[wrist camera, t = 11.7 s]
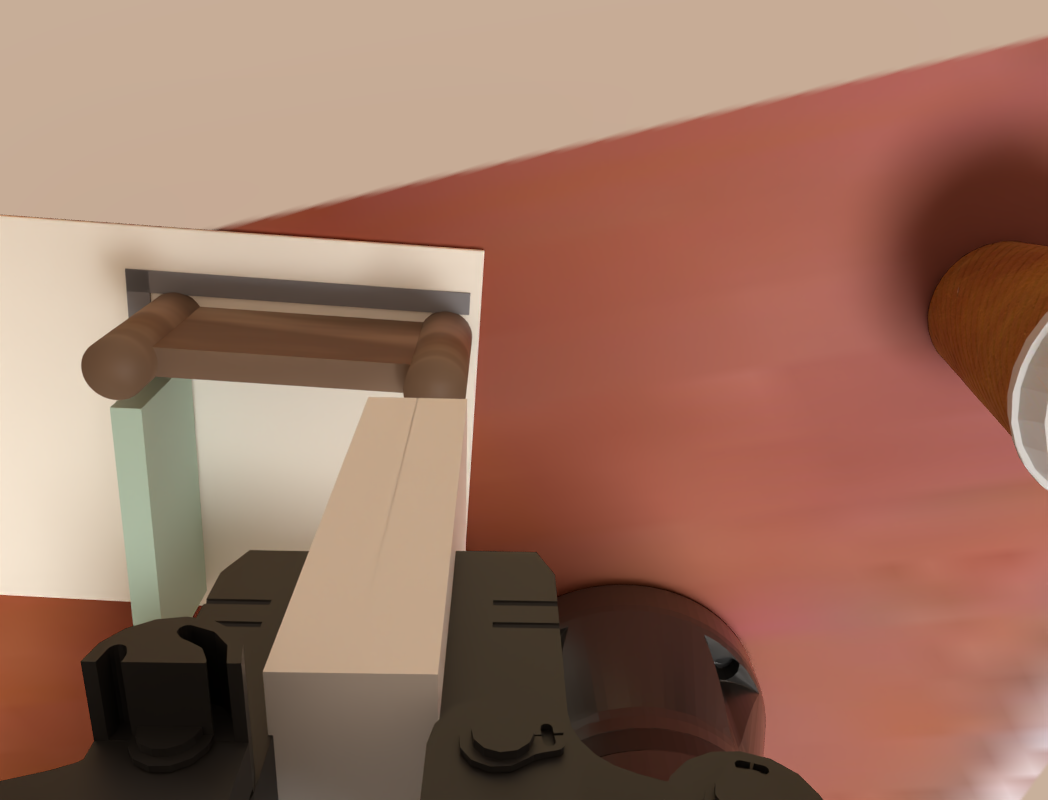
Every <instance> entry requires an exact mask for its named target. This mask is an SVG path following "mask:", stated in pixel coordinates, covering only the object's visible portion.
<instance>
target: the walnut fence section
mask: <svg viewBox="0 0 1048 800" xmlns="http://www.w3.org/2000/svg"><path fill="white" fill-rule="evenodd" d="M471 345H472V331H471V328H470V326H469V324H468V322H467V321H466V320H465V319H464V318H463V317H462V316H461V315H459V314H455V313H452V312H447V311H443V312H437V313H433V314H431V315H430V316H429V317H427V318H426V319H425V321H424V322H414V321H400V320H385V319H371V318H356V317H342V316H327V315H313V314H299V313H284V312H270V311H255V310H241V309H227V308H212V307H200V306H199V305H198V303H197V302H196V301H195V300H194V299H193V298H191V297H190V296H187V295H184V294H181V293H175V292H170V293H165V294H162V295H160V296H159V297H157V298H156V299H154V300H153V301H152V302H150V303H149V304H148V305H146V306H145V307H143V308H142V309H141V310H139V311H138V312H136V313H135V314H134V315H132V316H131V317H129V318H128V319H127V320H125V321H124V322H123V323H121V324H120V325H118V326H117V327H116V328H114V329H113V330H111V331H110V332H109V333H107V334H106V335H104V336H103V337H102V338H100V339H99V340H98V341H96V342H95V343H93V344H92V345H91V346H90V347H88V349H87V350H86V351H85V353H84V355H83V357H82V361H81V370H82V374H83V377H84V379H85V381H86V383H87V384H88V385H89V387H90V388H91V389H92V390H93V391H95V392H96V393H97V394H99V395H101V396H103V397H105V398H108V399H112V400H125V399H129V398H131V397H133V396H135V395H136V394H138V393H139V392H140V391H141V390H142V389H143V388H144V387H145V386H146V385H147V384H148V383H149V382H150V381H152V380H153V379H154V378H155V377H168V378H183V379H198V380H214V381H229V382H244V383H259V384H274V385H290V386H305V387H320V388H335V389H350V390H366V391H381V392H396V393H403V395H404V398H442V399H465V398H466V391H467V382H468V372H469V363H470V354H471Z"/></svg>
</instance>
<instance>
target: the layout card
mask: <svg viewBox="0 0 1048 800" xmlns="http://www.w3.org/2000/svg"><path fill="white" fill-rule="evenodd" d="M483 266H484V250H475V249H462V248H448V247H434V246H421V245H407V244H394V243H380V242H366V241H353V240H339V239H325V238H312V237H298V236H284V235H271V234H257V233H243V232H230V231H216V230H202V229H188V228H174V227H161V226H148V225H134V224H120V223H107V222H93V221H79V220H66V219H65V220H64V219H52V218H38V217H25V216H24V217H23V216H11V215H0V595H16V596H35V597H53V598H71V599H90V600H108V601H126V602H131V599H130V590H129V581H128V572H127V562H126V553H125V544H124V535H123V525H122V516H121V507H120V498H119V488H118V479H117V470H116V461H115V451H114V442H113V433H112V423H111V414H110V407H111V406H112V405H113V404H114V403H115V402H116V401H117V400H112V399H108V398H105V397H103V396H101V395H99V394H97V393H96V392H95V391H93V390H92V389H91V388H90V387H89V385H88V384H87V383H86V381H85V379H84V377H83V374H82V370H81V361H82V357H83V355H84V353H85V351H86V350H87V349H88V347H90V346H91V345H92V344H93V343H95V342H96V341H98V340H99V339H100V338H102V337H103V336H104V335H106V334H107V333H109V332H110V331H111V330H113V329H114V328H116V327H117V326H118V325H120V324H121V323H123V322H124V321H125V320H127V319H128V318H129V317H131V316H132V315H134V314H135V313H136V312H138V311H139V310H141V309H142V308H143V307H145V306H146V305H148V304H149V303H150V302H152V301H153V300H154V299H156V298H157V297H159V296H160V295H162V294H165V293H170V292H175V293H181V294H184V295H187V296H190V297H191V298H193V299H194V300H195V301H196V302H197V303H198V305H199V306H200V307H212V308H227V309H241V310H255V311H270V312H284V313H299V314H313V315H327V316H342V317H356V318H371V319H385V320H400V321H414V322H424V321H425V319H426V318H427V317H429V316H430V315H431V314H433V313H437V312H443V311H447V312H452V313H455V314H459V315H461V316H462V317H463V318H464V319H465V320H466V321H467V322H468V324H469V326H470V328H471V331H472V345H471V354H470V363H469V372H468V382H467V391H466V398H465V399H467V482H466V533H467V517H468V502H469V486H470V470H471V454H472V439H473V423H474V407H475V391H476V376H477V360H478V344H479V328H480V313H481V297H482V281H483ZM191 382H192V396H193V409H194V423H195V437H196V450H197V464H198V477H199V491H200V504H201V518H202V531H203V545H204V558H205V572H206V585H207V592H206V593H205V595H204V597H203V599H202V601H201V602H200V604H199V606H203V604H206V599H207V597H208V595H209V593H210V591H211V589H212V587H213V585H214V584H215V582H216V580H217V578H218V576H219V574H220V572H222V571H223V570H224V569H226V568H227V567H228V566H229V565H231V564H232V563H233V562H235V561H236V560H237V559H239V558H240V557H241V556H243V555H244V554H245V553H246V552H248V551H249V550H275V551H309V550H310V547H311V545H312V542H313V540H314V537H315V534H316V532H317V529H318V527H319V524H320V521H321V519H322V516H323V514H324V511H325V508H326V506H327V503H328V501H329V498H330V495H331V493H332V490H333V488H334V485H335V482H336V480H337V477H338V475H339V472H340V469H341V467H342V464H343V462H344V459H345V456H346V454H347V451H348V449H349V446H350V443H351V441H352V438H353V435H354V433H355V430H356V428H357V425H358V422H359V420H360V417H361V415H362V412H363V409H364V407H365V404H366V402H367V399H368V397H398V398H404V395H403V393H396V392H381V391H366V390H350V389H335V388H320V387H305V386H290V385H274V384H259V383H244V382H229V381H214V380H198V379H191Z"/></svg>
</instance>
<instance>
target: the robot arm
mask: <svg viewBox="0 0 1048 800" xmlns="http://www.w3.org/2000/svg"><path fill="white" fill-rule="evenodd" d="M466 482H467V399H442V398H398V397H368V399H367V402H366V404H365V407H364V409H363V412H362V415H361V417H360V420H359V422H358V425H357V428H356V430H355V433H354V435H353V438H352V441H351V443H350V446H349V449H348V451H347V454H346V456H345V459H344V462H343V464H342V467H341V469H340V472H339V475H338V477H337V480H336V482H335V485H334V488H333V490H332V493H331V495H330V498H329V501H328V503H327V506H326V508H325V511H324V514H323V516H322V519H321V521H320V524H319V527H318V529H317V532H316V534H315V537H314V540H313V542H312V545H311V547H310V550H309V551H275V550H249V551H248V552H246V553H245V554H244V555H243V556H241V557H240V558H239V559H237V560H236V561H235V562H233V563H232V564H231V565H229V566H228V567H227V568H226V569H224V570H223V571H222V572H220V574H219V576H218V578H217V580H216V582H215V584H214V585H213V587H212V589H211V591H210V593H209V595H208V597H207V599H206V604H203V606H202V608H201V610H200V612H199V614H198V615H197V617H196V618H194V617H176V618H165V619H155V620H152V621H149V622H146V623H142V624H139V625H136V626H132V627H129V628H126V629H124V630H122V631H120V632H118V633H117V634H115V635H113V636H111V637H109V638H107V639H106V640H104V641H102V642H100V643H99V644H98V645H97V646H96V647H95V648H94V649H93V650H92V651H91V652H90V653H89V654H88V655H87V656H86V657H85V658H84V659H83V660H82V661H81V666H82V672H83V678H84V684H85V690H86V696H87V701H88V707H89V713H90V719H91V725H92V731H93V737H94V742H93V744H92V746H91V747H90V749H89V751H88V753H87V754H86V756H85V758H84V759H83V760H81V761H79V762H77V763H74V764H70V765H67V766H63V767H60V768H56V769H53V770H49V771H45V772H40V773H36V774H31V775H26V776H22V777H17V778H13V779H8V780H3V781H0V800H823V799H822V798H821V796H820V795H819V794H818V793H817V792H816V791H815V790H814V789H813V788H812V787H811V786H810V785H809V784H808V783H807V782H806V781H805V780H804V779H803V778H802V777H801V776H800V775H799V774H797V773H795V772H793V771H792V770H790V769H788V768H786V767H784V766H783V765H781V764H779V763H777V762H775V761H773V760H772V759H769V758H765V757H763V754H764V741H765V727H766V717H765V707H764V701H763V697H762V692H761V689H760V686H759V683H758V680H757V678H756V675H755V673H754V670H753V668H752V665H751V663H750V660H749V658H748V655H747V653H746V651H745V649H744V648H743V646H742V644H741V643H740V641H739V640H738V638H737V637H736V636H735V634H734V633H733V632H732V631H731V629H730V628H729V627H728V626H727V625H726V624H725V623H724V622H723V621H722V620H721V619H719V618H718V617H717V616H716V615H714V614H713V613H712V612H711V611H709V610H708V609H706V608H704V607H703V606H701V605H699V604H698V603H696V602H694V601H692V600H690V599H688V598H686V597H683V596H681V595H678V594H675V593H672V592H669V591H666V590H662V589H657V588H652V587H646V586H637V585H606V586H598V587H592V588H586V589H582V590H578V591H574V592H571V593H568V594H565V595H562V596H560V597H557V592H556V581H555V574H554V573H553V572H552V571H551V570H550V568H549V567H548V566H547V565H546V564H545V562H544V561H543V560H542V559H541V557H540V556H539V555H538V554H537V553H536V552H497V551H466Z"/></svg>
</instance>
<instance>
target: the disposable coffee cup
mask: <svg viewBox="0 0 1048 800" xmlns="http://www.w3.org/2000/svg"><path fill="white" fill-rule="evenodd" d="M928 324H929V333H930V336H931V339H932V343H933V345H934V347H935V349H936V350H937V352H938V353H939V354H940V355H941V357H942V358H943V359H944V360H945V361H946V362H947V363H948V364H949V366H950V367H951V368H952V369H953V370H954V371H955V372H956V373H957V375H958V376H959V377H960V378H961V379H962V380H963V381H964V383H965V384H966V385H967V386H968V387H969V389H970V390H971V391H972V392H973V393H974V394H975V396H976V397H977V398H978V399H979V400H980V401H981V402H982V403H983V404H984V406H985V407H986V408H987V409H988V410H989V411H990V412H991V413H992V415H993V416H994V417H995V418H996V419H997V420H998V422H999V423H1000V424H1001V425H1002V426H1003V427H1004V428H1005V429H1006V430H1007V432H1008V433H1009V434H1010V435H1011V436H1012V440H1013V442H1014V445H1015V448H1016V450H1017V453H1018V456H1019V458H1020V459H1021V461H1022V462H1023V464H1024V465H1025V467H1026V468H1027V470H1028V471H1029V473H1030V474H1031V475H1032V476H1033V477H1034V478H1035V479H1036V480H1037V481H1038V483H1039V484H1040V485H1041V486H1043V487H1044V488H1046V489H1047V490H1048V246H1043V245H1036V244H1028V243H1023V242H1016V241H1003V242H998V243H994V244H989V245H985V246H983V247H981V248H978V249H976V250H974V251H972V252H970V253H969V254H967V255H965V256H964V257H962V258H961V259H960V260H959V261H958V262H956V263H955V264H954V265H953V266H952V267H951V268H950V269H949V270H948V271H947V273H946V274H945V275H944V276H943V277H942V279H941V281H940V282H939V284H938V286H937V287H936V289H935V291H934V294H933V297H932V299H931V302H930V307H929V313H928Z"/></svg>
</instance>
